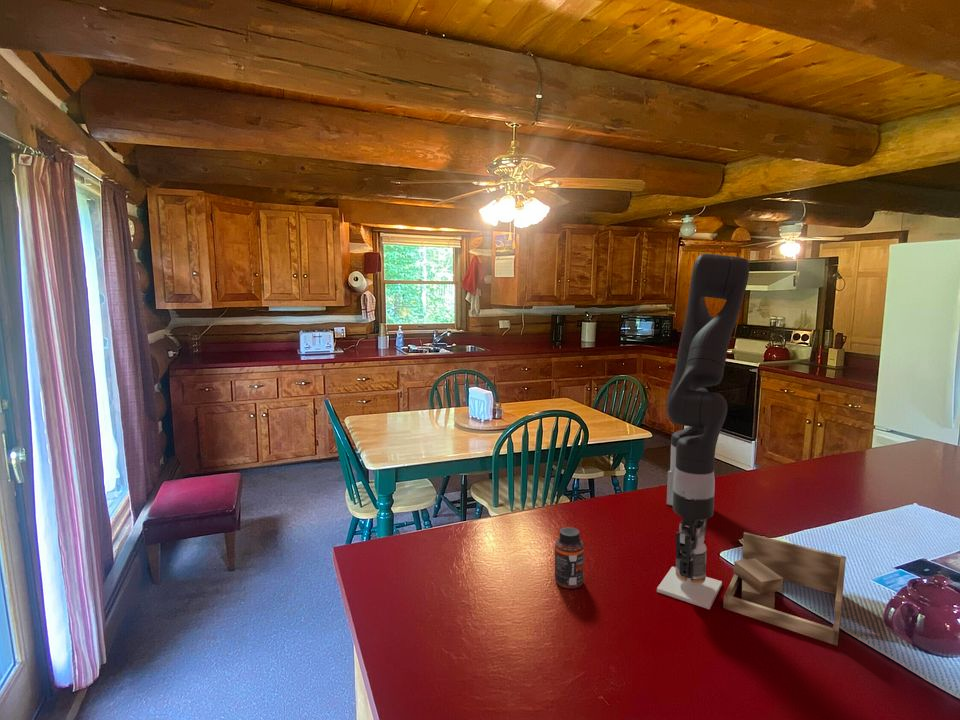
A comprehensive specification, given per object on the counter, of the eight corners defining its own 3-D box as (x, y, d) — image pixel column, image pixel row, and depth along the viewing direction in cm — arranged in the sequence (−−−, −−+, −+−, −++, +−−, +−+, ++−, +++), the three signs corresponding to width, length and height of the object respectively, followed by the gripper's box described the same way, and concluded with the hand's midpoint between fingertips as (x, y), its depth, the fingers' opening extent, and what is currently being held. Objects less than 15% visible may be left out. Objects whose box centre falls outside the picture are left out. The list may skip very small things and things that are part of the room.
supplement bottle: (581, 592, 105) (581, 540, 103) (552, 587, 107) (552, 535, 105) (585, 577, 110) (586, 527, 109) (558, 572, 113) (558, 523, 111)
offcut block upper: (760, 593, 99) (761, 581, 99) (733, 572, 106) (734, 561, 106) (782, 590, 100) (783, 578, 100) (754, 569, 107) (754, 558, 107)
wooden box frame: (723, 608, 99) (725, 569, 98) (742, 566, 113) (744, 532, 112) (837, 645, 88) (841, 602, 87) (842, 594, 103) (846, 556, 101)
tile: (656, 591, 105) (656, 588, 105) (672, 569, 113) (672, 566, 112) (709, 609, 99) (709, 605, 99) (721, 585, 107) (722, 581, 106)
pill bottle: (704, 573, 107) (706, 528, 106) (706, 588, 102) (708, 541, 100) (674, 568, 109) (676, 524, 108) (675, 583, 104) (677, 537, 102)
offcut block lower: (741, 604, 101) (742, 590, 100) (741, 580, 109) (742, 567, 108) (774, 612, 98) (774, 597, 98) (771, 587, 106) (772, 573, 106)
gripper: (684, 475, 111) (681, 549, 113) (662, 498, 99) (660, 579, 102) (722, 482, 106) (718, 559, 109) (704, 507, 95) (700, 592, 97)
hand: (690, 568), depth 105 cm, fingers closed on pill bottle, 5 cm apart
